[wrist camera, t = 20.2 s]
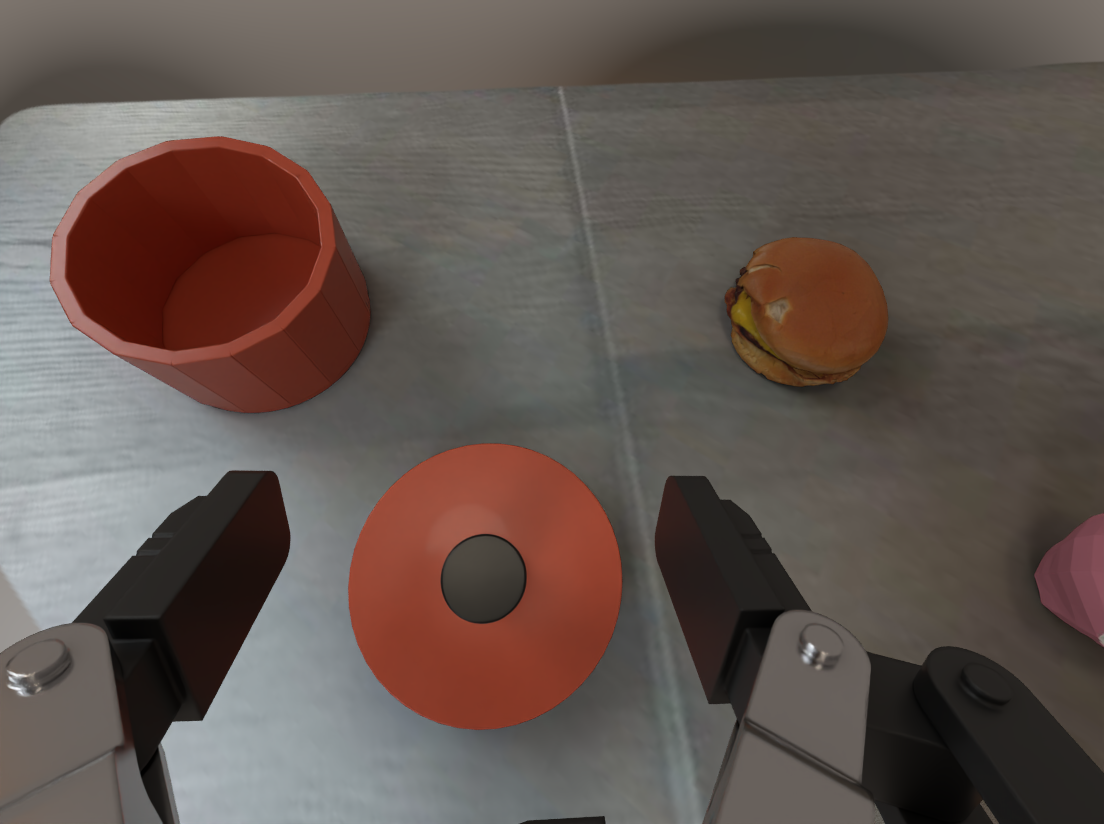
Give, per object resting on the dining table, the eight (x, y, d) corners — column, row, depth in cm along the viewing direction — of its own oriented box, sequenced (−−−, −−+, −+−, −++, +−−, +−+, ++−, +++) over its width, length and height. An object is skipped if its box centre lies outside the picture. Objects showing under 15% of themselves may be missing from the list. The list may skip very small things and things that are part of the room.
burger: (882, 336, 35) (937, 302, 31) (800, 419, 33) (847, 396, 28) (777, 240, 37) (815, 194, 32) (691, 313, 34) (719, 274, 30)
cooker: (276, 453, 29) (203, 415, 22) (107, 338, 30) (-15, 266, 23) (411, 296, 33) (386, 219, 25) (257, 198, 34) (192, 98, 26)
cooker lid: (526, 783, 24) (545, 931, 14) (296, 618, 25) (166, 650, 15) (662, 535, 28) (749, 517, 18) (459, 403, 29) (439, 318, 19)
